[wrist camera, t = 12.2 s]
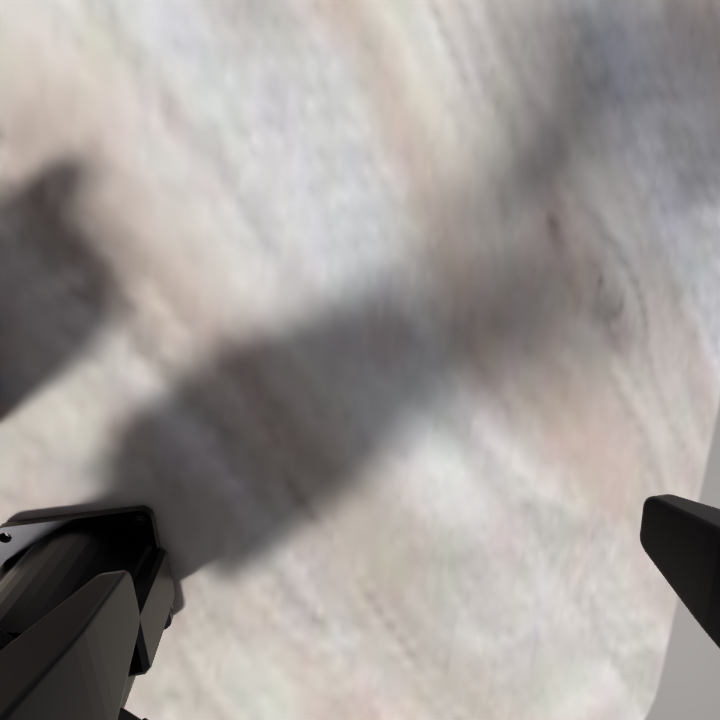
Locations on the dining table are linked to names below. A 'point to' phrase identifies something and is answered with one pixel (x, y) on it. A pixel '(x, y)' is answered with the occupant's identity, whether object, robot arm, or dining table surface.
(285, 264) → the dining table surface
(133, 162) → the dining table surface
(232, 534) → the dining table surface
